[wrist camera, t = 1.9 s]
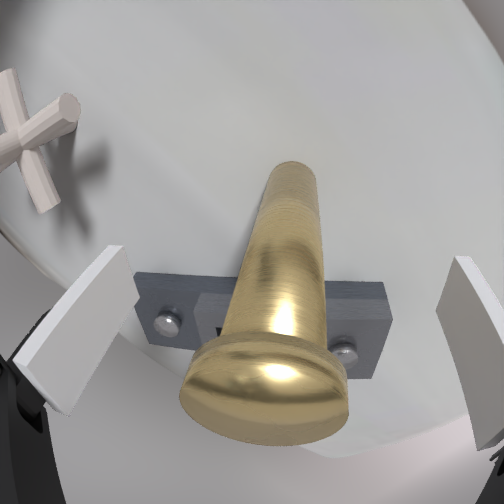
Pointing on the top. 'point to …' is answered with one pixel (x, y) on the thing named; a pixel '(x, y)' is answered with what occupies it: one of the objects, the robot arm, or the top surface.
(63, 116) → the white crossed rod jack
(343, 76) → the top surface
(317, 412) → the pin
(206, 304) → the square socket block
